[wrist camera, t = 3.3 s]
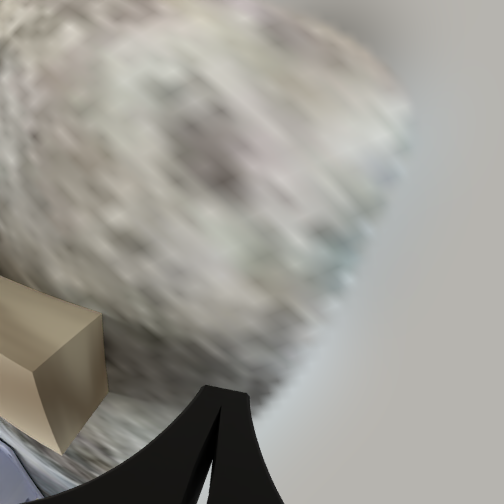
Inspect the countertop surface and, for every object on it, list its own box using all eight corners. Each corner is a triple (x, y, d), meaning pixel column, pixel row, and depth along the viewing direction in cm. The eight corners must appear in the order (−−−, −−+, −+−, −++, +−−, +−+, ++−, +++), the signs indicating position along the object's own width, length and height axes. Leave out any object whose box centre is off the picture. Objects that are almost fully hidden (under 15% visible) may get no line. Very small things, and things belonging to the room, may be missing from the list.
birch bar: (110, 389, 10) (62, 455, 6) (-10, 330, 10) (-60, 363, 6) (104, 311, 9) (32, 372, 5) (-21, 264, 9) (-81, 289, 6)
